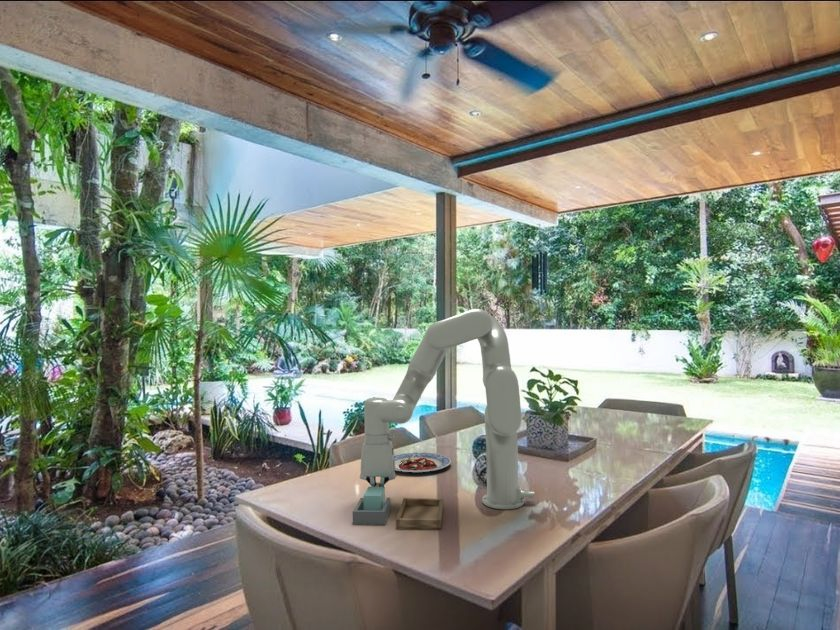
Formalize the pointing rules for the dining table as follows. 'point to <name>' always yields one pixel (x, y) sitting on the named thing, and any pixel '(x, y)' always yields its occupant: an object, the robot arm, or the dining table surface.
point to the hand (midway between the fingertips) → (378, 498)
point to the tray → (420, 514)
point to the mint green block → (374, 498)
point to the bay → (371, 514)
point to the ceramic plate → (421, 462)
